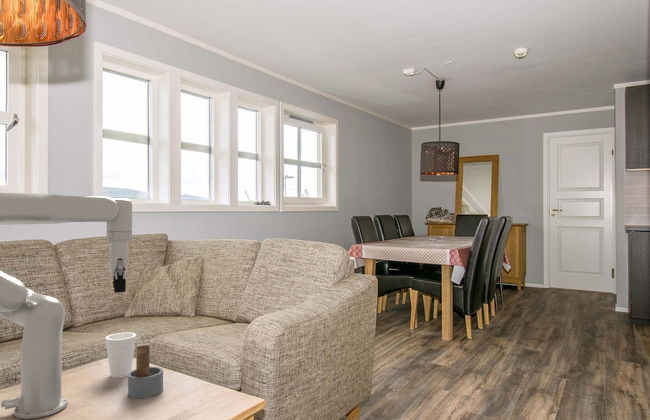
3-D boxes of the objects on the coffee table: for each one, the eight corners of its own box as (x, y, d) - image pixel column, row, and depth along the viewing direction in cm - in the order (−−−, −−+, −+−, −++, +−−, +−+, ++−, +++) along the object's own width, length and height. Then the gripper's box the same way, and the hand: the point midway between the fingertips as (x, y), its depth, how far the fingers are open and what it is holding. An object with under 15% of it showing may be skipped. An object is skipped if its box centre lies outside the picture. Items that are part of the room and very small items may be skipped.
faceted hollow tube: (129, 401, 126) (129, 380, 126) (127, 389, 135) (127, 369, 135) (164, 394, 131) (164, 374, 131) (160, 383, 139) (160, 364, 139)
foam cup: (141, 372, 149) (141, 335, 149) (116, 381, 141) (116, 341, 141) (125, 367, 154) (125, 331, 154) (99, 375, 146) (99, 337, 146)
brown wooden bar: (136, 392, 130) (137, 346, 130) (136, 390, 132) (136, 344, 133) (149, 390, 132) (149, 344, 132) (148, 388, 134) (148, 342, 134)
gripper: (105, 236, 146) (105, 286, 145) (107, 238, 130) (106, 295, 130) (130, 235, 149) (130, 285, 149) (134, 237, 134) (133, 292, 134)
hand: (119, 289), depth 139 cm, fingers open, 9 cm apart
